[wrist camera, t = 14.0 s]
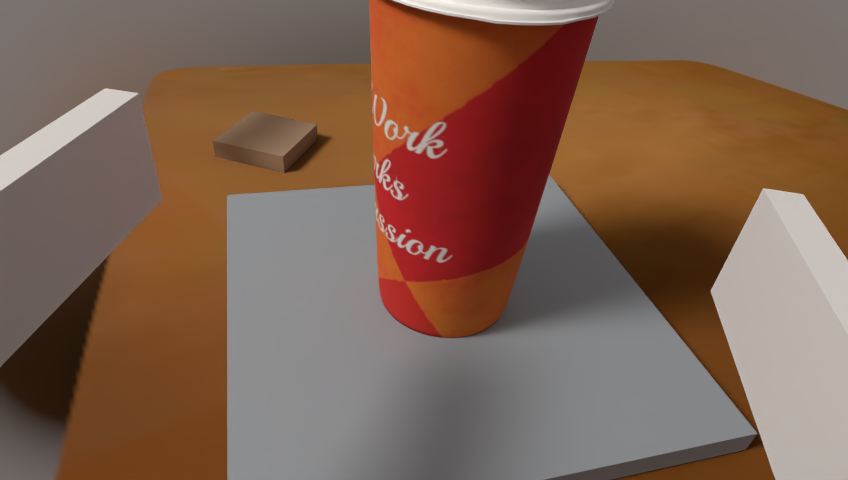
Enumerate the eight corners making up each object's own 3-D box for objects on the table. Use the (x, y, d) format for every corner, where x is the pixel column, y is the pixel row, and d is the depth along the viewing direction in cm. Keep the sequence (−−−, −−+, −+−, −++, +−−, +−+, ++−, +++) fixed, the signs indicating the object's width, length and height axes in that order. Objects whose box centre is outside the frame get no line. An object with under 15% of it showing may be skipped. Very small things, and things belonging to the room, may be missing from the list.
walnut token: (317, 145, 38) (316, 124, 37) (284, 179, 34) (283, 156, 33) (255, 131, 39) (252, 110, 38) (216, 163, 35) (213, 140, 34)
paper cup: (350, 239, 28) (353, -97, 19) (506, 236, 29) (573, -81, 21) (358, 367, 22) (367, -43, 13) (555, 357, 23) (679, -24, 14)
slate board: (543, 186, 35) (547, 172, 34) (746, 449, 21) (757, 433, 21) (229, 211, 30) (227, 195, 30) (232, 564, 17) (227, 548, 16)
